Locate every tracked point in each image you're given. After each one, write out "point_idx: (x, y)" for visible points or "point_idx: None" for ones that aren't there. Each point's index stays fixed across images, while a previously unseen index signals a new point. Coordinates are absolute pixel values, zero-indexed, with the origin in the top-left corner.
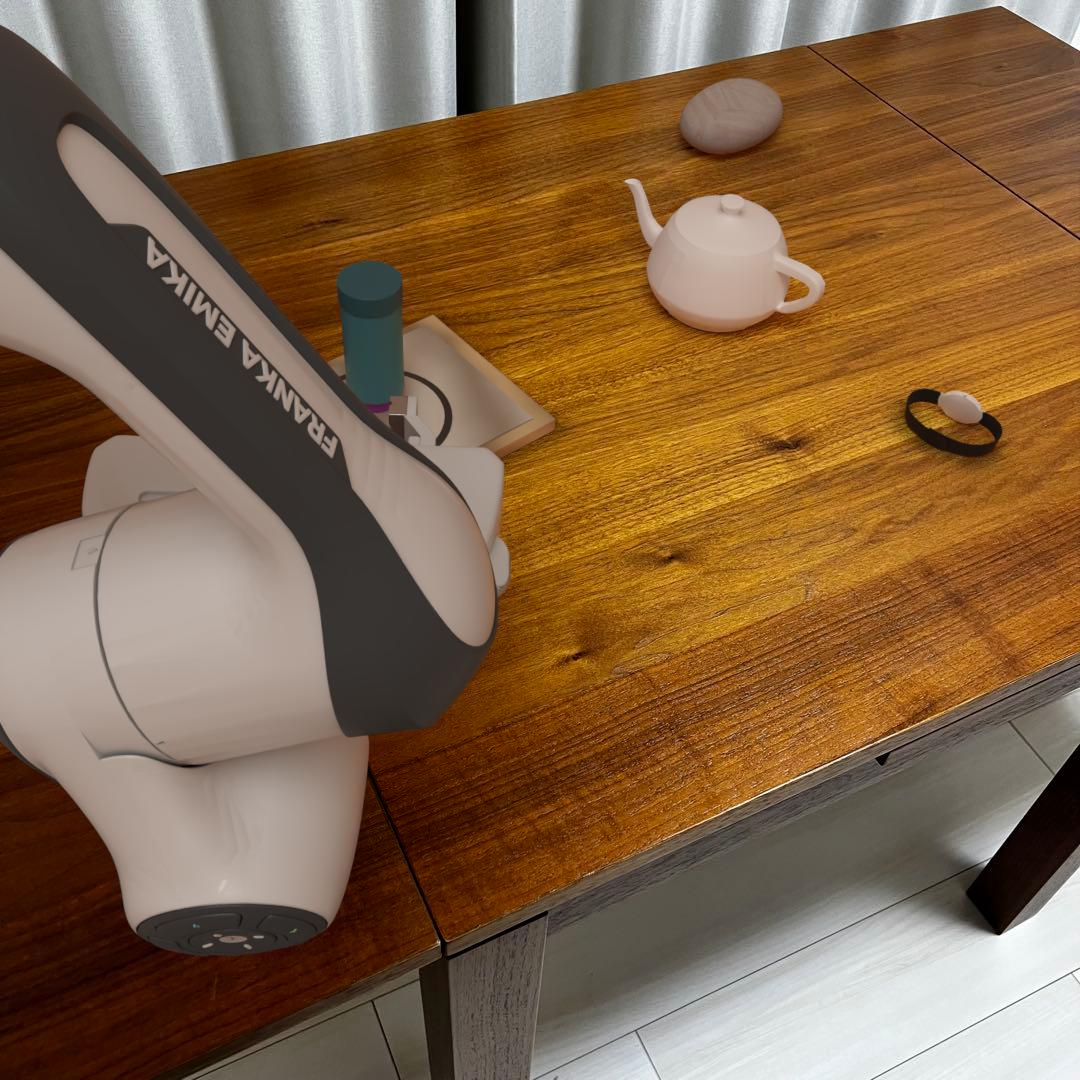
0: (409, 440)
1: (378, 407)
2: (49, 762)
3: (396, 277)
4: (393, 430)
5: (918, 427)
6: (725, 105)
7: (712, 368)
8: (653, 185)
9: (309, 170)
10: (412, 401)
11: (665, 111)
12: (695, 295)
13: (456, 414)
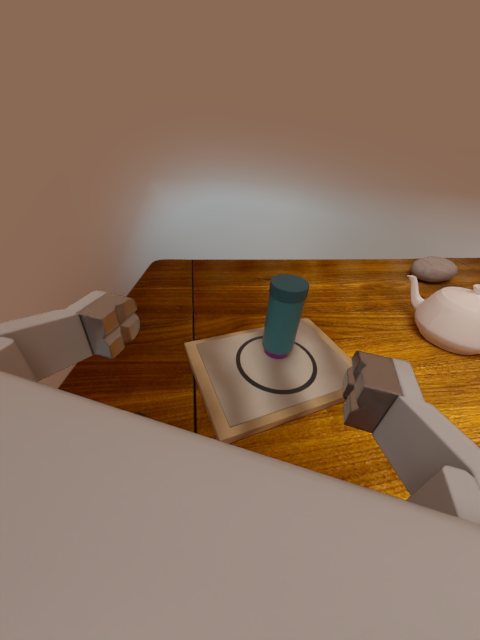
0: (448, 481)
1: (277, 356)
2: None
3: (305, 283)
4: (358, 414)
5: None
6: (435, 262)
7: (461, 373)
8: (401, 288)
9: (262, 263)
10: (404, 369)
11: (398, 266)
12: (454, 332)
13: (319, 369)
